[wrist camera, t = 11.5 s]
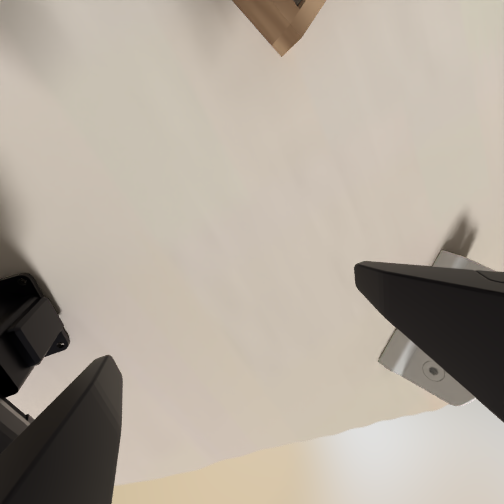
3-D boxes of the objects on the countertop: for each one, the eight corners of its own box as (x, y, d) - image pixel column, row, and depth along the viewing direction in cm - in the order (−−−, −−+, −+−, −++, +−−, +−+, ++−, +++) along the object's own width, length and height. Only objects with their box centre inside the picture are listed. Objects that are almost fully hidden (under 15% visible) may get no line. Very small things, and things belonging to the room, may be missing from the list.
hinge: (443, 246, 30) (567, 286, 23) (450, 254, 34) (561, 291, 26) (376, 364, 33) (469, 433, 26) (388, 361, 36) (474, 421, 29)
